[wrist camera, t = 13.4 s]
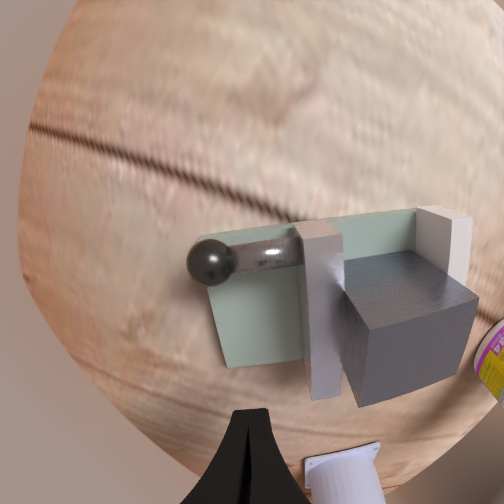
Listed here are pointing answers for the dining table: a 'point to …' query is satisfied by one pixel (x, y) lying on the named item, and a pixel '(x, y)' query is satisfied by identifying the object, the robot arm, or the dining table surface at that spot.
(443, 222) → the base
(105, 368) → the dining table surface
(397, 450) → the dining table surface
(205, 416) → the dining table surface
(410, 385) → the block
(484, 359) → the supplement bottle
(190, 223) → the dining table surface
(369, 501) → the robot arm
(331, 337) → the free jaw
